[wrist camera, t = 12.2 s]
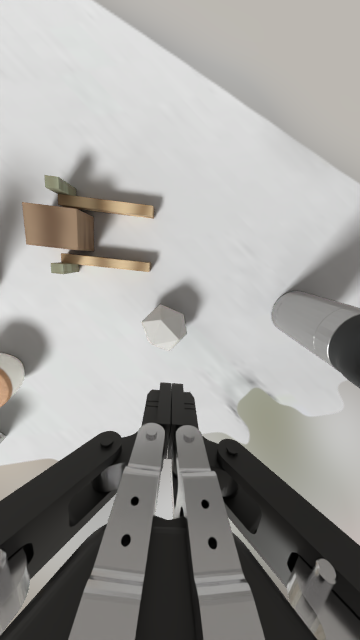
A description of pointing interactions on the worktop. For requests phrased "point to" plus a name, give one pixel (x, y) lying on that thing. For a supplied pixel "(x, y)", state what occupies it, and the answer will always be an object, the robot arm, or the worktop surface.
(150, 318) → the die
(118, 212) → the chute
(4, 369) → the lidded jar
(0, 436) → the skincare box
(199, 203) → the worktop surface
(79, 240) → the block
